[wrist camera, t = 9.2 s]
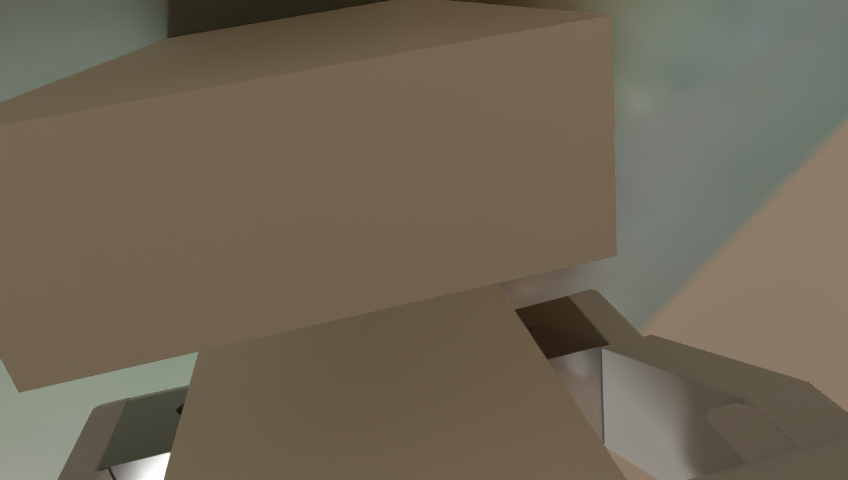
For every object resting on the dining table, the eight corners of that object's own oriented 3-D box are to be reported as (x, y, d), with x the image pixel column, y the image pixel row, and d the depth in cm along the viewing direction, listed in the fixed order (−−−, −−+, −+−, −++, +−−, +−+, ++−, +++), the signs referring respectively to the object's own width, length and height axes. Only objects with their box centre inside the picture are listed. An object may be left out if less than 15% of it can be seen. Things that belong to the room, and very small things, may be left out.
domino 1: (167, 38, 12) (-115, 145, 4) (410, -4, 13) (612, 15, 4) (197, 135, 13) (19, 391, 5) (424, 92, 13) (616, 254, 5)
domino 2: (225, 257, 13) (99, 711, 5) (447, 209, 14) (671, 547, 5) (249, 333, 14) (176, 832, 6) (459, 286, 14) (666, 679, 6)
